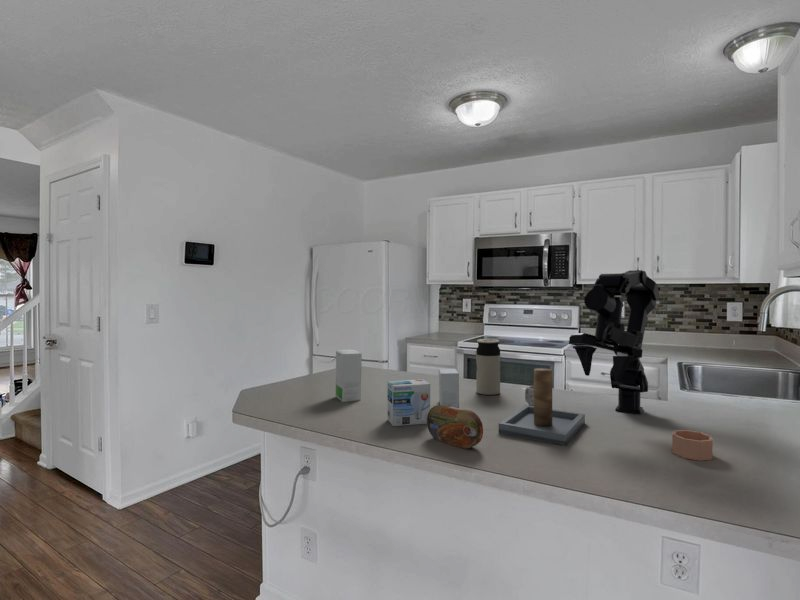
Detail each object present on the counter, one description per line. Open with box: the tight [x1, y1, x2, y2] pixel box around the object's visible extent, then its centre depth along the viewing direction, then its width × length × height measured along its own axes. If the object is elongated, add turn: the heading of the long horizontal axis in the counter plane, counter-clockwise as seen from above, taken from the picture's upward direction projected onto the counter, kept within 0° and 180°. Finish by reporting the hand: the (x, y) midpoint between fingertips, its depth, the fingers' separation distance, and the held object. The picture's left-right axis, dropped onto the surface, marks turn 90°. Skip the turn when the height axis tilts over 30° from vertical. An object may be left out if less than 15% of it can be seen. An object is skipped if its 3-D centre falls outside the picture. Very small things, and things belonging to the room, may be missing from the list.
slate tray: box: [498, 404, 586, 447], centre depth 115 cm, size 20×16×2 cm
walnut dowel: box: [533, 367, 553, 427], centre depth 115 cm, size 4×4×14 cm
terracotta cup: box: [671, 429, 714, 462], centre depth 97 cm, size 7×7×4 cm
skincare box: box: [334, 348, 363, 403], centre depth 146 cm, size 8×7×16 cm
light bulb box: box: [387, 378, 431, 427], centre depth 121 cm, size 11×7×11 cm, turn 105°
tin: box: [426, 404, 484, 449], centre depth 105 cm, size 15×3×8 cm, turn 45°
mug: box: [524, 385, 534, 406], centre depth 133 cm, size 10×7×7 cm, turn 22°
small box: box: [438, 368, 460, 408], centre depth 138 cm, size 8×6×10 cm
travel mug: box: [475, 338, 501, 396], centre depth 153 cm, size 8×8×18 cm
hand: (602, 378), depth 115 cm, fingers open, 9 cm apart
